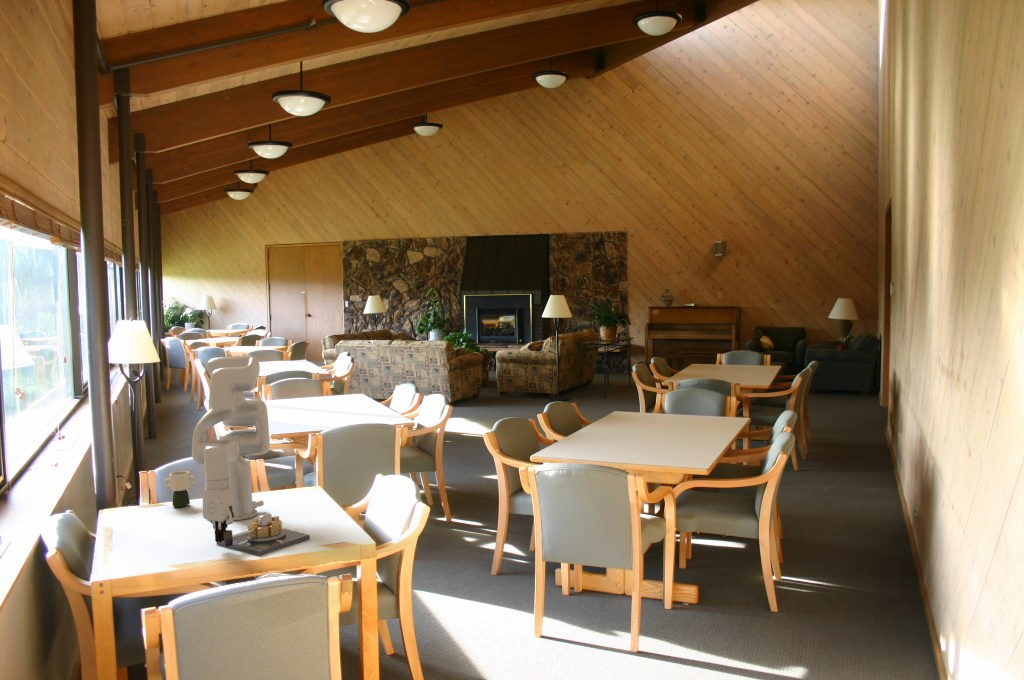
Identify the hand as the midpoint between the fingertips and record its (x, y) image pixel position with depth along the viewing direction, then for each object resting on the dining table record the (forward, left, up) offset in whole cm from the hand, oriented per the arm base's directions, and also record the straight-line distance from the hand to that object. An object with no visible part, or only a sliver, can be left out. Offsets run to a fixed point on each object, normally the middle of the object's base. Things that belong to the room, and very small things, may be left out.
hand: (221, 540), depth 272 cm
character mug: (-25, -62, -3) cm, 67 cm away
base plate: (-13, +4, -3) cm, 14 cm away
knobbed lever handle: (-9, +4, -1) cm, 10 cm away
